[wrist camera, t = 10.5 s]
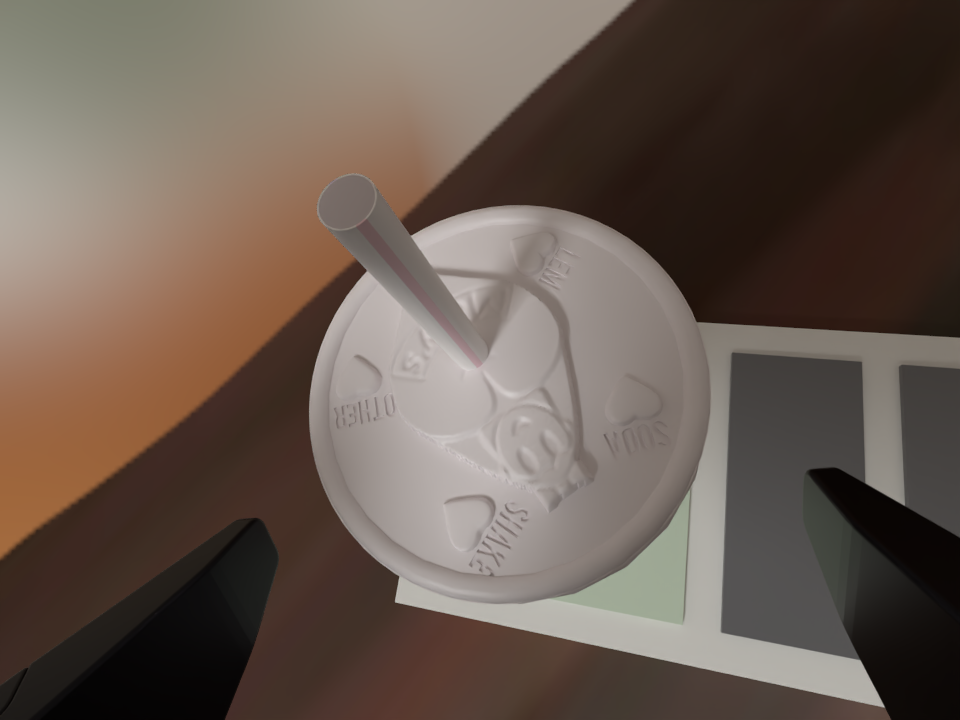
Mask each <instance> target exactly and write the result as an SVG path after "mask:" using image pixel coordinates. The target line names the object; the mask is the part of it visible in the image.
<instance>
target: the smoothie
mask: <svg viewBox="0 0 960 720" xmlns="http://www.w3.org/2000/svg"><path fill="white" fill-rule="evenodd" d="M317 213H318V217H319V219H320V221H321V222H322V224H323V225H324V226H325V227H326V228H327V229H328V230H329V231H330V232H331V233H332V234H333V235H334V236H335V237H336V238H337V239H338V240H339V241H340V243H341V244H343V246H344V247H345V248H346V249H347V250H348V251H349V252H350V253H351V254H352V255H353V256H354V257H355V258H356V259H357V260H358V261H359V262H360V263H361V264H362V266H363V267H364V268H365V269H366V270H367V272H366V273H365V274H364V276H363V277H362V278H361V279H360V280H359V281H358V282H357V283H356V285H355V286H354V287H353V289H352V290H351V291H350V293H349V294H348V295H347V297H346V298H345V300H344V301H343V303H342V304H341V306H340V308H339V309H338V311H337V312H336V314H335V316H334V318H333V320H332V322H331V324H330V326H329V328H328V330H327V333H326V335H325V337H324V340H323V342H322V345H321V348H320V351H319V354H318V357H317V360H316V365H315V369H314V373H313V378H312V385H311V392H310V406H309V423H310V436H311V443H312V450H313V455H314V459H315V463H316V467H317V470H318V473H319V476H320V479H321V482H322V485H323V487H324V490H325V492H326V494H327V496H328V498H329V500H330V503H331V504H332V506H333V508H334V509H335V511H336V513H337V515H338V516H339V518H340V520H341V521H342V522H343V524H344V525H345V526H346V528H347V529H348V531H349V532H350V533H351V535H352V536H353V537H354V538H355V539H356V540H357V541H358V542H359V543H360V545H361V546H362V547H363V548H364V549H365V550H366V551H367V552H368V553H370V554H371V555H372V556H373V557H374V558H375V559H376V560H377V561H378V562H380V563H381V564H382V565H384V566H385V567H387V568H388V569H389V570H391V571H392V572H394V573H395V574H397V575H398V576H400V577H402V578H404V579H405V580H407V581H409V582H411V583H412V584H414V585H417V586H419V587H421V588H424V589H426V590H428V591H431V592H433V593H436V594H440V595H443V596H446V597H449V598H453V599H458V600H463V601H468V602H473V603H486V604H524V603H529V602H534V601H540V600H544V599H549V598H555V597H560V596H565V595H570V594H575V593H578V592H579V591H581V590H583V589H585V588H587V587H589V586H591V585H593V584H595V583H597V582H599V581H601V580H603V579H604V578H606V577H608V576H610V575H612V574H614V573H616V572H618V571H620V570H622V569H624V568H626V567H627V566H628V565H629V564H630V563H631V562H632V561H633V560H634V559H635V558H636V557H637V556H638V555H639V554H641V553H642V552H643V551H644V550H645V549H646V548H647V547H648V546H649V545H650V544H651V543H652V542H653V541H654V540H655V539H656V538H657V537H658V536H659V535H660V534H661V533H662V532H663V531H664V530H665V529H666V528H667V527H668V526H669V524H670V522H671V521H672V519H673V517H674V515H675V514H676V512H677V510H678V508H679V506H680V505H681V503H682V501H683V499H684V498H685V496H686V494H687V492H688V491H689V489H690V487H691V485H692V484H693V482H694V480H695V478H696V474H697V470H698V466H699V462H700V459H701V457H702V453H703V449H704V445H705V441H706V437H707V433H708V426H709V418H710V407H711V384H710V372H709V365H708V360H707V355H706V349H705V346H704V343H703V339H702V336H701V333H700V330H699V327H698V325H697V322H696V320H695V318H694V315H693V313H692V311H691V309H690V307H689V305H688V304H687V302H686V300H685V298H684V296H683V294H682V293H681V292H680V290H679V289H678V287H677V286H676V284H675V283H674V282H673V280H672V279H671V277H670V276H669V275H668V274H667V273H666V272H665V271H664V269H663V268H662V267H661V266H660V265H659V264H658V263H657V262H656V261H655V260H654V259H653V258H652V257H651V256H650V255H649V254H648V253H647V252H646V251H645V250H643V249H642V248H641V247H639V246H638V245H637V244H635V243H634V242H633V241H631V240H630V239H629V238H627V237H625V236H624V235H622V234H621V233H619V232H617V231H616V230H614V229H612V228H610V227H608V226H606V225H604V224H602V223H600V222H598V221H595V220H593V219H590V218H587V217H585V216H582V215H579V214H575V213H572V212H568V211H564V210H560V209H554V208H548V207H540V206H528V205H522V206H499V207H490V208H485V209H479V210H474V211H470V212H466V213H463V214H459V215H456V216H453V217H450V218H448V219H445V220H442V221H440V222H437V223H435V224H433V225H431V226H429V227H427V228H424V229H423V230H421V231H419V232H417V233H416V234H414V235H412V236H410V235H409V233H408V232H407V230H406V229H405V227H404V226H403V225H402V223H401V222H400V220H399V219H398V218H397V216H396V215H395V213H394V212H393V211H392V209H391V208H390V206H389V205H388V203H387V202H386V200H385V199H384V198H383V196H382V195H381V193H380V192H379V190H378V189H377V188H376V186H375V185H374V184H373V182H372V181H371V180H370V179H369V178H367V177H366V176H364V175H361V174H346V175H343V176H340V177H338V178H337V179H335V180H333V181H332V182H331V183H329V184H328V185H327V186H326V188H325V189H324V190H323V191H322V193H321V195H320V197H319V200H318V204H317Z"/></svg>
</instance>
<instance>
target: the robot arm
mask: <svg viewBox="0 0 960 720" xmlns="http://www.w3.org/2000/svg"><path fill="white" fill-rule="evenodd" d="M802 517H803V522H804V526H805V529H806V532H807V534H808V537H809V540H810V542H811V545H812V547H813V550H814V553H815V555H816V558H817V560H818V563H819V566H820V568H821V571H822V573H823V576H824V579H825V581H826V584H827V586H828V589H829V592H830V594H831V597H832V599H833V602H834V605H835V607H836V610H837V612H838V615H839V617H840V620H841V622H842V624H843V627H844V629H845V631H846V633H847V635H848V637H849V639H850V641H851V643H852V645H853V647H854V649H855V651H856V653H857V655H858V657H859V659H860V660H861V662H862V664H863V666H864V668H865V670H866V672H867V674H868V676H869V678H870V680H871V682H872V684H873V685H874V687H875V689H876V691H877V693H878V695H879V697H880V699H881V701H882V703H883V705H884V707H885V709H886V710H887V712H888V714H889V716H890V718H891V720H960V537H958V536H957V535H955V534H953V533H951V532H950V531H948V530H946V529H944V528H943V527H941V526H939V525H938V524H936V523H934V522H932V521H931V520H929V519H927V518H925V517H924V516H922V515H920V514H918V513H917V512H915V511H913V510H911V509H910V508H908V507H906V506H904V505H903V504H901V503H899V502H897V501H896V500H894V499H892V498H890V497H889V496H887V495H885V494H883V493H882V492H880V491H878V490H876V489H875V488H873V487H871V486H869V485H868V484H866V483H864V482H862V481H861V480H859V479H857V478H855V477H854V476H852V475H850V474H848V473H847V472H845V471H843V470H841V469H839V468H836V467H826V468H815V469H809V470H807V471H806V472H805V474H804V479H803V501H802ZM278 561H279V555H278V551H277V548H276V546H275V544H274V542H273V540H272V538H271V536H270V534H269V532H268V530H267V528H266V526H265V524H264V522H263V521H262V520H260V519H258V518H248V519H239V520H236V521H234V522H233V523H231V524H230V525H229V526H227V527H226V528H224V529H223V530H221V531H220V532H219V533H217V534H216V535H214V536H213V537H211V538H210V539H209V540H207V541H206V542H204V543H203V544H201V545H200V546H199V547H197V548H196V549H194V550H193V551H191V552H190V553H189V554H187V555H186V556H184V557H183V558H181V559H180V560H179V561H177V562H176V563H174V564H173V565H171V566H170V567H169V568H167V569H166V570H164V571H163V572H161V573H160V574H159V575H157V576H156V577H154V578H153V579H151V580H150V581H149V582H147V583H146V584H144V585H143V586H141V587H140V588H139V589H137V590H136V591H134V592H133V593H131V594H130V595H129V596H127V597H126V598H124V599H123V600H121V601H120V602H119V603H117V604H116V605H114V606H113V607H111V608H110V609H109V610H107V611H106V612H104V613H103V614H101V615H100V616H99V617H97V618H96V619H94V620H93V621H91V622H90V623H89V624H87V625H86V626H84V627H83V628H81V629H80V630H79V631H77V632H76V633H74V634H73V635H71V636H70V637H69V638H67V639H66V640H64V641H63V642H61V643H60V644H59V645H57V646H56V647H54V648H53V649H51V650H50V651H49V652H47V653H46V654H44V655H43V656H41V657H40V658H39V659H37V660H36V661H34V662H33V663H31V665H30V666H29V668H24V669H23V670H21V671H20V672H18V673H17V674H16V675H14V676H13V677H11V678H10V679H8V680H7V681H6V682H4V683H3V684H1V685H0V720H225V718H226V715H227V713H228V710H229V708H230V705H231V703H232V700H233V698H234V695H235V693H236V690H237V688H238V685H239V683H240V680H241V678H242V675H243V673H244V670H245V668H246V665H247V663H248V660H249V657H250V655H251V652H252V649H253V647H254V644H255V641H256V637H257V634H258V631H259V628H260V624H261V621H262V618H263V614H264V611H265V608H266V604H267V601H268V597H269V594H270V591H271V587H272V584H273V580H274V577H275V574H276V570H277V567H278Z"/></svg>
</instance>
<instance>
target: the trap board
mask: <svg viewBox="0 0 960 720" xmlns="http://www.w3.org/2000/svg"><path fill="white" fill-rule="evenodd" d="M697 325H698V327H699V330H700V333H701V336H702V339H703V343H704V346H705V349H706V355H707V360H708V365H709V372H710V384H711V407H710V418H709V426H708V433H707V437H706V441H705V445H704V449H703V453H702V457H701V459H700V462H699V466H698V470H697V474H696V478H695V480H694V482H693V484H692V485H691V487H690V489H689V491H688V492H687V494H686V496H685V498H684V499H683V501H682V503H681V505H680V506H679V508H678V510H677V512H676V514H675V515H674V517H673V519H672V521H671V522H670V524H669V526H668V527H667V528H666V529H665V530H664V531H663V532H662V533H661V534H660V535H659V536H658V537H657V538H656V539H655V540H654V541H653V542H652V543H651V544H650V545H649V546H648V547H647V548H646V549H645V550H644V551H643V552H642V553H641V554H639V555H638V556H637V557H636V558H635V559H634V560H633V561H632V562H631V563H630V564H629V565H628V566H627V567H626V568H624V569H622V570H620V571H618V572H616V573H614V574H612V575H610V576H608V577H606V578H604V579H603V580H601V581H599V582H597V583H595V584H593V585H591V586H589V587H587V588H585V589H583V590H581V591H579V592H578V593H575V594H570V595H565V596H560V597H555V598H549V599H544V600H540V601H534V602H529V603H524V604H486V603H473V602H468V601H463V600H458V599H453V598H449V597H446V596H443V595H440V594H436V593H433V592H431V591H428V590H426V589H424V588H421V587H419V586H417V585H414V584H412V583H411V582H409V581H407V580H405V579H404V578H402V577H399V583H398V588H397V594H396V599H395V602H397V603H401V604H406V605H411V606H415V607H420V608H425V609H429V610H434V611H438V612H443V613H448V614H452V615H457V616H462V617H466V618H471V619H476V620H480V621H485V622H490V623H494V624H499V625H504V626H508V627H513V628H518V629H522V630H527V631H531V632H536V633H541V634H545V635H550V636H555V637H559V638H564V639H569V640H573V641H578V642H583V643H587V644H592V645H597V646H601V647H606V648H611V649H615V650H620V651H624V652H629V653H634V654H638V655H643V656H648V657H652V658H657V659H662V660H666V661H671V662H676V663H680V664H685V665H690V666H694V667H699V668H704V669H708V670H713V671H717V672H722V673H727V674H731V675H736V676H741V677H745V678H750V679H755V680H759V681H764V682H769V683H773V684H778V685H783V686H787V687H792V688H797V689H801V690H806V691H810V692H815V693H820V694H824V695H829V696H834V697H838V698H843V699H848V700H852V701H857V702H862V703H866V704H871V705H876V706H880V707H884V705H883V703H882V701H881V699H880V697H879V695H878V693H877V691H876V689H875V687H874V685H873V684H872V682H871V680H870V678H869V676H868V674H867V672H866V670H865V668H864V666H863V664H862V662H861V660H860V659H859V657H858V655H857V653H856V651H855V649H854V647H853V645H852V643H851V641H850V639H849V637H848V635H847V633H846V631H845V629H844V627H843V624H842V622H841V620H840V617H839V615H838V612H837V610H836V607H835V605H834V602H833V599H832V597H831V594H830V592H829V589H828V586H827V584H826V581H825V579H824V576H823V573H822V571H821V568H820V566H819V563H818V560H817V558H816V555H815V553H814V550H813V547H812V545H811V542H810V540H809V537H808V534H807V532H806V529H805V526H804V522H803V517H802V501H803V479H804V474H805V472H806V471H807V470H809V469H815V468H826V467H836V468H839V469H841V470H843V471H845V472H847V473H848V474H850V475H852V476H854V477H855V478H857V479H859V480H861V481H862V482H864V483H866V484H868V485H869V486H871V487H873V488H875V489H876V490H878V491H880V492H882V493H883V494H885V495H887V496H889V497H890V498H892V499H894V500H896V501H897V502H899V503H901V504H903V505H904V506H906V507H908V508H910V509H911V510H913V511H915V512H917V513H918V514H920V515H922V516H924V517H925V518H927V519H929V520H931V521H932V522H934V523H936V524H938V525H939V526H941V527H943V528H944V529H946V530H948V531H950V532H951V533H953V534H955V535H957V536H958V537H960V338H954V337H937V336H920V335H903V334H887V333H870V332H853V331H836V330H819V329H802V328H785V327H768V326H752V325H735V324H718V323H701V322H697Z"/></svg>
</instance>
